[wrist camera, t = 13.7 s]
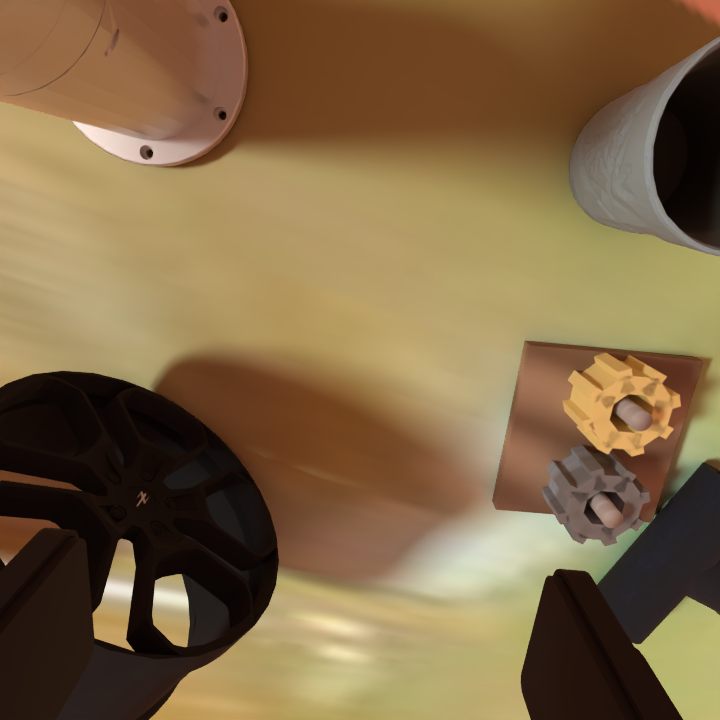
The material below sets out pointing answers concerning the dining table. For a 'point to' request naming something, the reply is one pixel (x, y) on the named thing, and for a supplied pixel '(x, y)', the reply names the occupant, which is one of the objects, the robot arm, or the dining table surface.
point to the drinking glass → (657, 156)
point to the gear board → (585, 446)
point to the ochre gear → (609, 386)
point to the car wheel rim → (140, 524)
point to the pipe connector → (670, 559)
